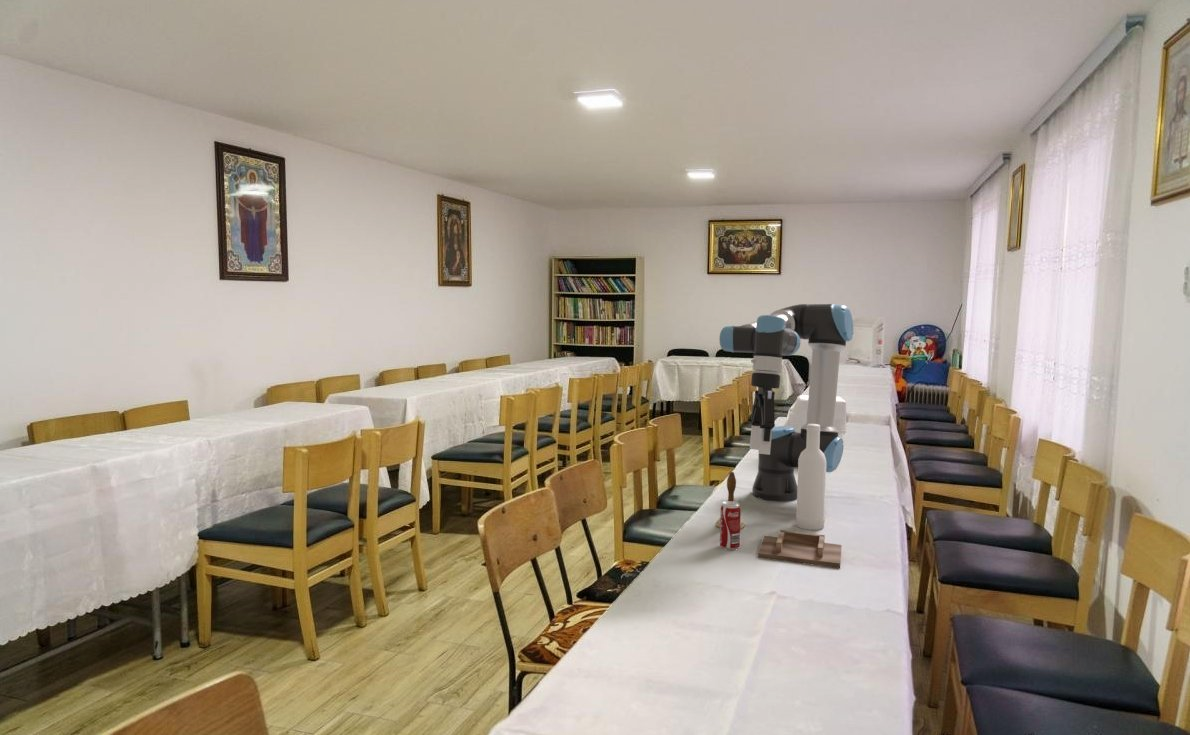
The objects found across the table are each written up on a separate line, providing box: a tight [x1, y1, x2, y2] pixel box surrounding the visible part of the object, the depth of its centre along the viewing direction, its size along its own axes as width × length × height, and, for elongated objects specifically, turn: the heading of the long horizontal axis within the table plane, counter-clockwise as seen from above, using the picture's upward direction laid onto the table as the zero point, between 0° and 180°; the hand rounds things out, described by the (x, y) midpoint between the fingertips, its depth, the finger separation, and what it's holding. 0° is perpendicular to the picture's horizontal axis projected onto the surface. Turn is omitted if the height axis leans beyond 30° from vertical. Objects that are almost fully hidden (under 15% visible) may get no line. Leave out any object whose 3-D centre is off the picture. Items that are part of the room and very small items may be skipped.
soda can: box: [719, 500, 742, 551], centre depth 187 cm, size 5×5×12 cm
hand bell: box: [715, 471, 745, 530], centre depth 204 cm, size 8×8×16 cm
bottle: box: [795, 424, 827, 531], centre depth 204 cm, size 8×8×30 cm
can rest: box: [757, 529, 842, 569], centre depth 183 cm, size 14×20×4 cm
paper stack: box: [783, 394, 848, 439], centre depth 289 cm, size 21×27×26 cm
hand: (759, 451), depth 188 cm, fingers open, 13 cm apart
